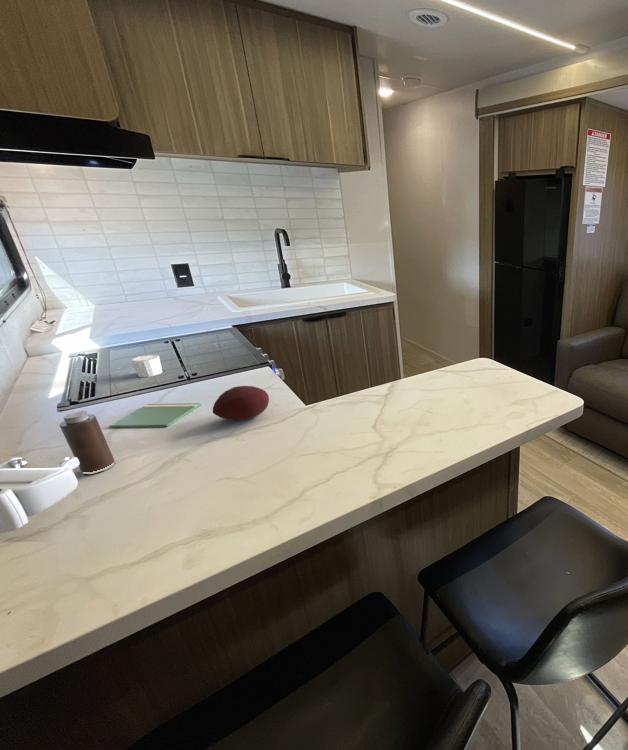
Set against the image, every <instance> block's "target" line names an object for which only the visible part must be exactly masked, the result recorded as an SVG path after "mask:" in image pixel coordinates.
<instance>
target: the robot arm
mask: <svg viewBox="0 0 628 750" xmlns="http://www.w3.org/2000/svg"><path fill="white" fill-rule="evenodd" d="M58 463H59V465H58V466H54V467H31V468H30V467H29V468H28V467H27V466H28V462H27V460H26V458H25V457H13V458H11V459H9V460H6V461H5V462H0V534H2V533H8V532H13V531H16V530H19V529H21V528H22V527H24V526H26V524H28V523H29V517H32V516H35V515H38V514H40V513H42V512H43V511H45V510H47V509H49V508H50V507H52V506H53V505H55V504H56V503H58V502H59V501H61V500H62V499H64V498H65V497H66V496H67V497H68V495H70V494H71V493H72V492H74V491H75V490H76V489H77V488H78V485H79V481H78V477H77V476H76V475H75V474H76V473H75V472H74V469H76V468H77V467H79V464H80V462H79V460H78V458H77V457H74V456H68V457H67V456H66V457H65V458H64V459H62V460H60V461H58ZM25 467H27V468H25Z"/></svg>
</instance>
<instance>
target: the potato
mask: <svg viewBox="0 0 628 750" xmlns="http://www.w3.org/2000/svg"><path fill="white" fill-rule="evenodd" d="M269 403H270V396H269V394H268V393H267V391H266V390H264V389H262V388H259V387H257V386H253V385H239V386H233V387H231V388H229V389H227V390H225V391H223V393H221V394H220V395H219V396H218V398H217V399H216V401H215V402H214V403H213V406H212V414H213V415H215V416H217V417H219V418H220V419H225V420H227V421H245V420H249V419H252V418H255V417H257V416H259V415H261V414H262V413H263V412H265V410H266V409H267V408H268V406H269Z"/></svg>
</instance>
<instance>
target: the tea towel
mask: <svg viewBox="0 0 628 750" xmlns="http://www.w3.org/2000/svg"><path fill="white" fill-rule="evenodd" d="M201 405H202V404H201V402H195V403H194V402H192V403H191V402H190V403H188V402H187V403H147V404H145V405H143V406H141V407H139V409H137V410H135V411H133V412H131V413H129V414H126V415H125V416H124V417H122V418H119V419H118V420H116V421H114V422H112V423H111V424H109V425H108V427H109V428H113V429H114V428H168V427H169V426H171V425H172V424H174V423H175V422H176V423H177V421H178V420H180V419H182V418H184V417H185V416H186V415H188V414H190V413H192V412H193V411H194V410H196V409H197V408H199V407H200V406H201Z"/></svg>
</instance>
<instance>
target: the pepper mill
mask: <svg viewBox="0 0 628 750" xmlns="http://www.w3.org/2000/svg"><path fill="white" fill-rule="evenodd" d="M58 426H59V428H60V430H61V432H62V434H63V436H64V438H65V441H66V442H67V445H68V446H69V448H70V452H71V453H72V455H73V457H77V458H78V460H79V462H80V464H79V466H78V467H79V470H80V472H81V471H82V472H93V471H97V470H100V469H103V468H105V467H107V466H109V465H111V464H112V463H113V462H114V461H115V462H116V460H115V458H114V456H113V453H112V451H111V449H110V447H109V444H108V442H107V440H106V438H105V435H104V433H103V431H102V428H101V426H100V423H99V422H98V419H97V417H96V415H95V414H91V413H88V411H85V410H79V411H78V410H77V411H73V412H70V413H68V414H65V415H64V416H63V420H62V421H61V422H60V423H59V425H58ZM82 472H81V473H82Z"/></svg>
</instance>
